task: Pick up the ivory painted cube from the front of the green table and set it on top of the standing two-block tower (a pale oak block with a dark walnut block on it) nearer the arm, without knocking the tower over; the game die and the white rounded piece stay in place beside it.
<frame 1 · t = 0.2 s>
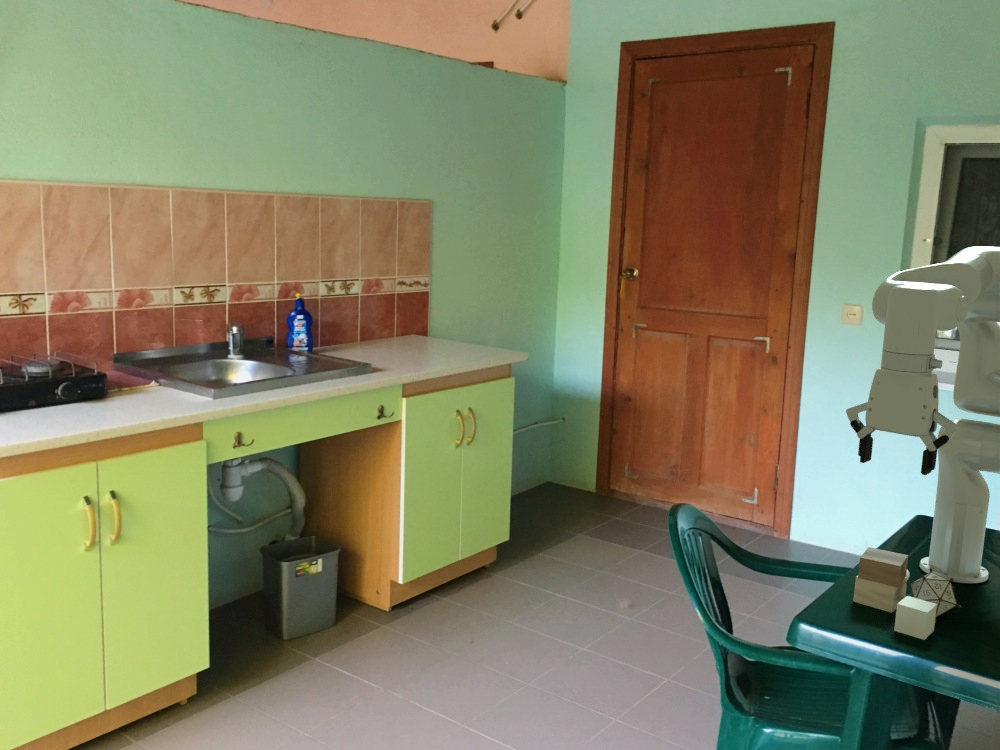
hand: (895, 467, 151), 30 cm above the table, fingers open, 9 cm apart
oak block: (879, 602, 173), on the table
ivory cube: (913, 631, 161), on the table
walnut block: (882, 576, 172), point 5 cm above the table
white rounded piece: (890, 590, 179), on the table
game die: (930, 616, 167), on the table
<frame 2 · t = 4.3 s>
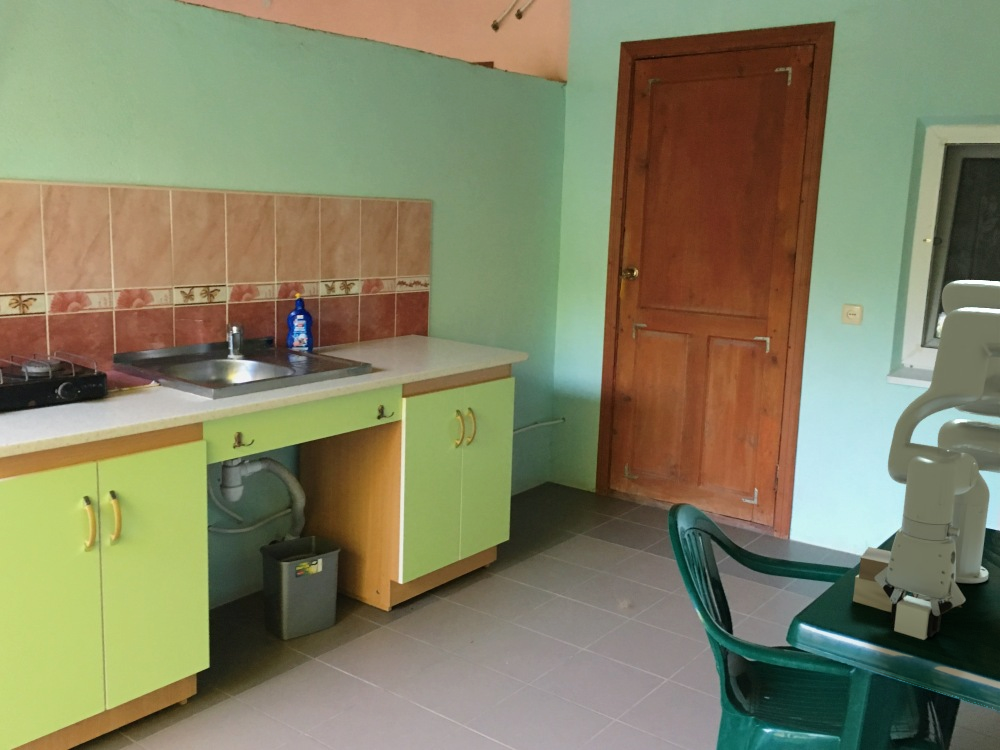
hand: (914, 628, 160), 0 cm above the table, fingers closed on ivory cube, 5 cm apart
oak block: (878, 602, 173), on the table, touching walnut block
ivory cube: (913, 630, 161), on the table, touching gripper
walnut block: (882, 576, 172), point 5 cm above the table, touching oak block
everything else where it was.
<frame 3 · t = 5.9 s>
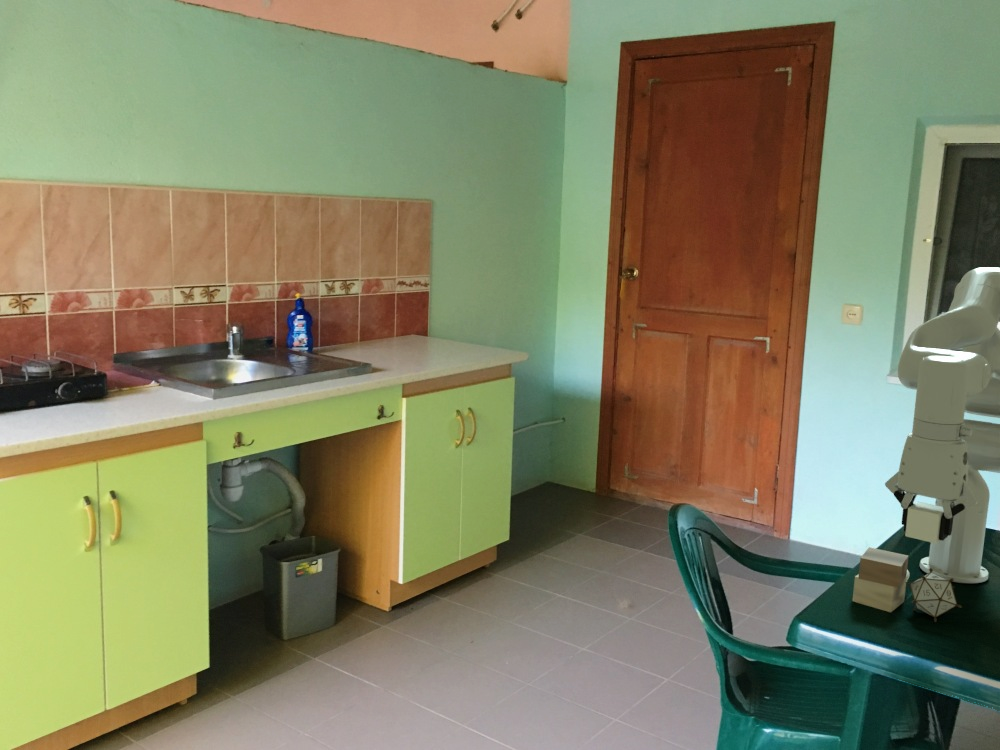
hand: (925, 533, 158), 18 cm above the table, fingers closed on ivory cube, 5 cm apart
ivory cube: (925, 536, 158), point 17 cm above the table, touching gripper
everything else where it was.
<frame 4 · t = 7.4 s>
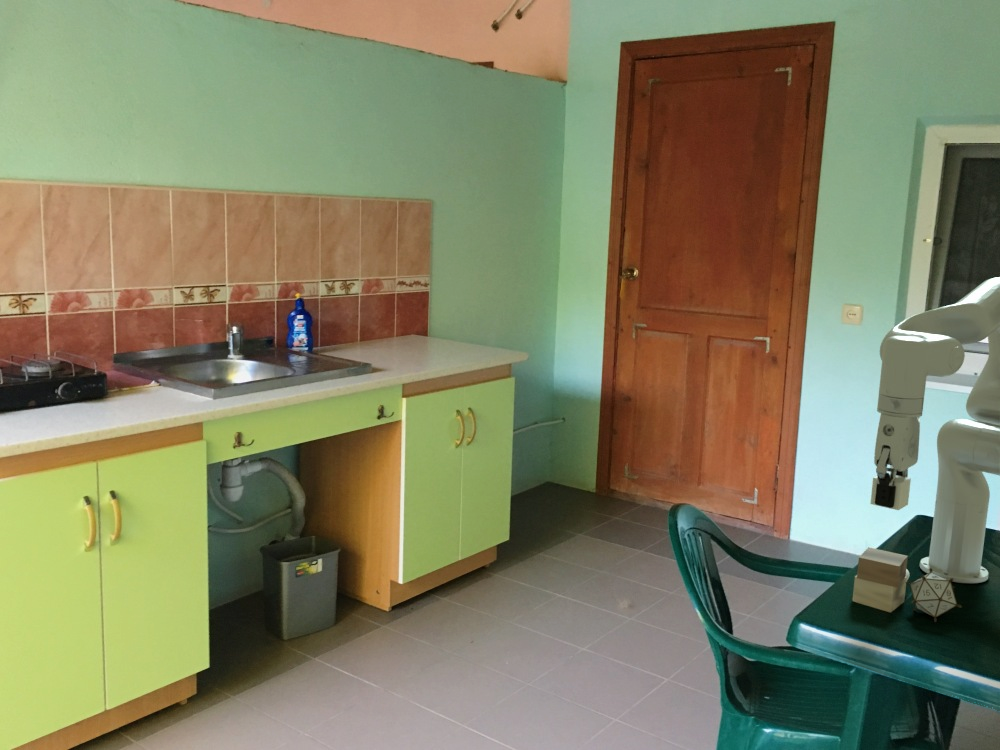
hand: (889, 501, 170), 19 cm above the table, fingers closed on ivory cube, 5 cm apart
ivory cube: (889, 504, 170), point 19 cm above the table, touching gripper
everything else where it was.
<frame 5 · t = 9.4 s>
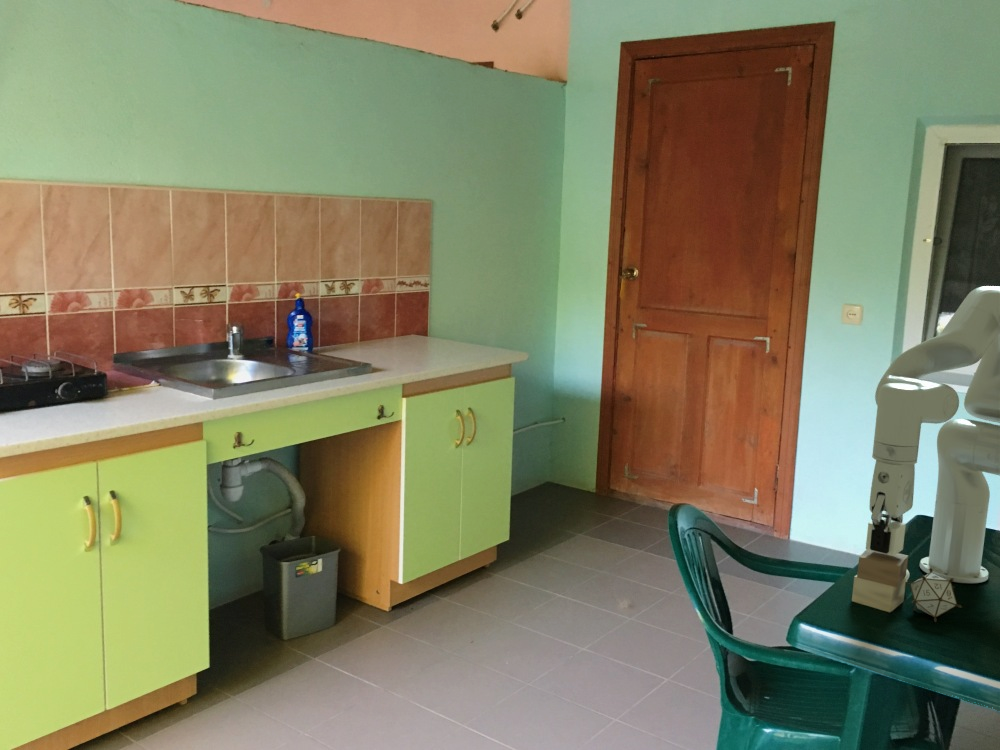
hand: (884, 546, 171), 11 cm above the table, fingers closed on ivory cube, 5 cm apart
ivory cube: (884, 549, 171), point 10 cm above the table, touching gripper
everything else where it was.
when the fingers open (11 cm above the table, at t = 10.2 s): ivory cube drops 1 cm, resting on walnut block.
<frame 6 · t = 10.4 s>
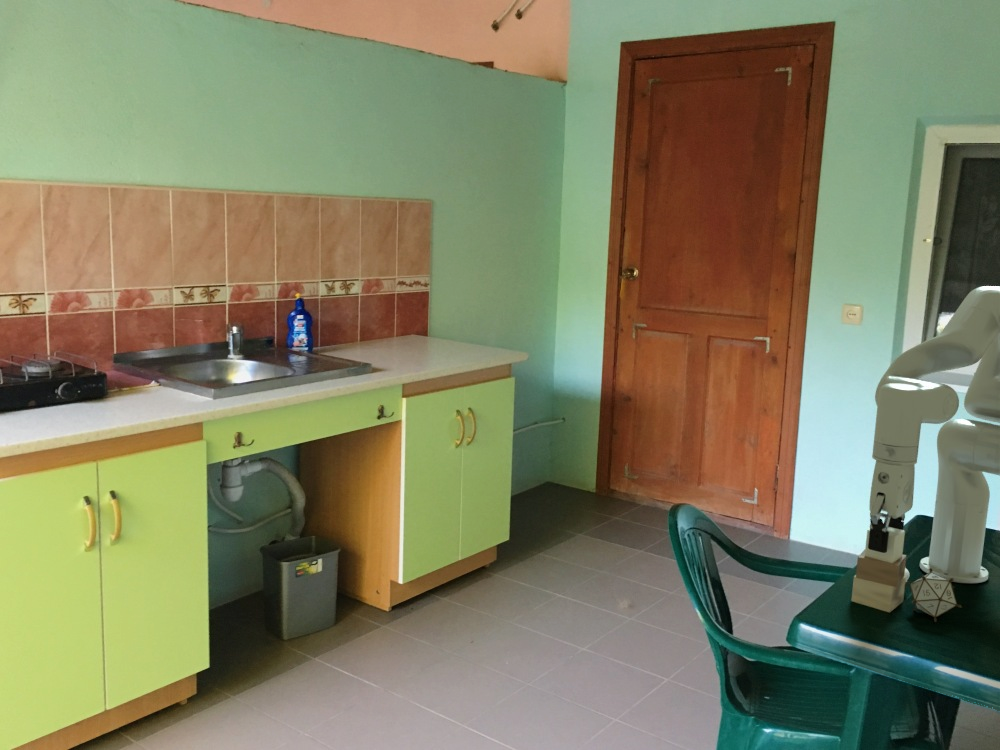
hand: (885, 544, 171), 11 cm above the table, fingers open, 7 cm apart
ivory cube: (883, 556, 171), point 9 cm above the table, touching walnut block
walnut block: (880, 576, 172), point 5 cm above the table, touching ivory cube, oak block
everything else where it was.
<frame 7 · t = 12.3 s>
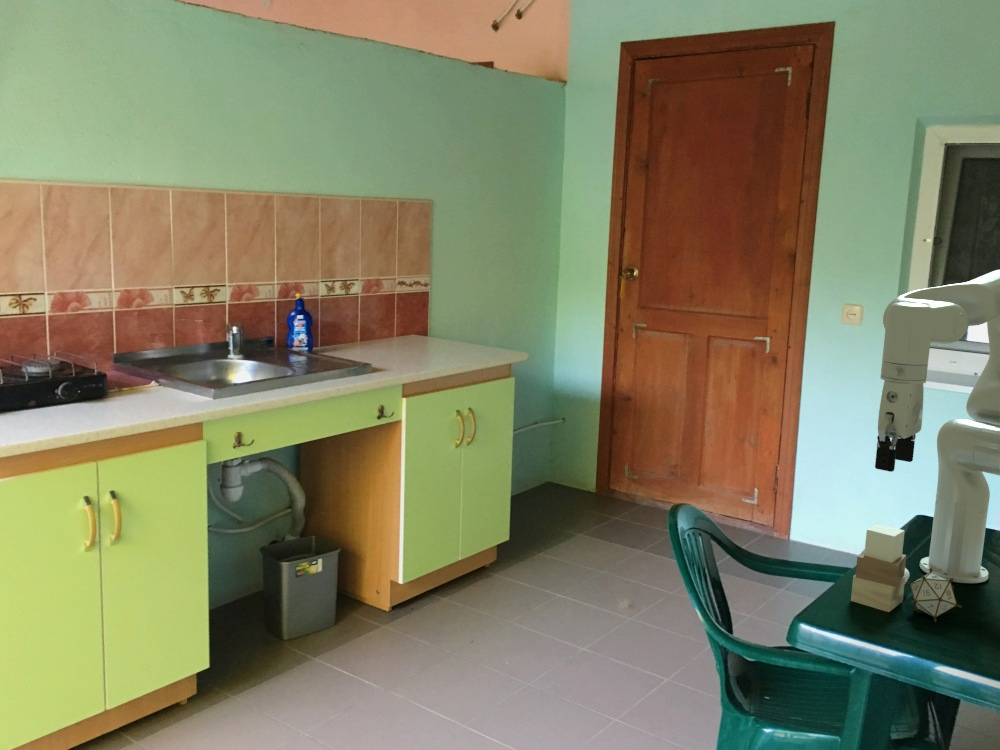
hand: (894, 465, 169), 26 cm above the table, fingers open, 9 cm apart
nothing on the table moved.
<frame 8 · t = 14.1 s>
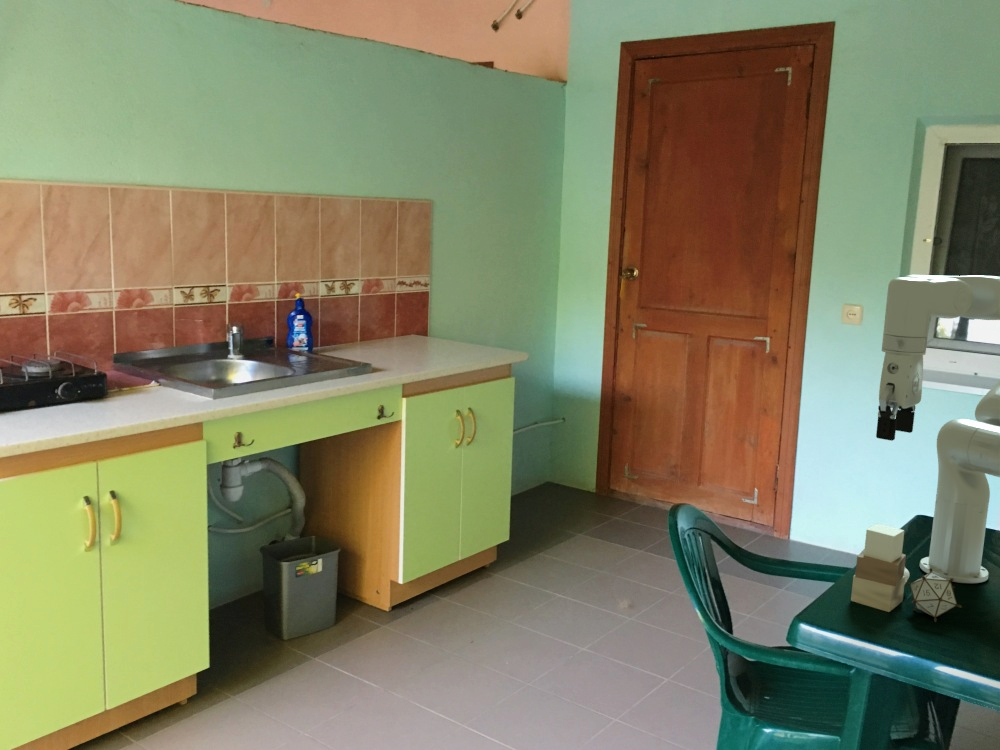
hand: (894, 435, 174), 30 cm above the table, fingers open, 9 cm apart
nothing on the table moved.
at the end: ivory cube inside the target area on the oak block (0.2 cm from its centre), point 9.0 cm above the oak block's base; walnut block 0.1 cm off-centre on the oak block, point 5.0 cm above the oak block's base; the gripper is holding nothing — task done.
